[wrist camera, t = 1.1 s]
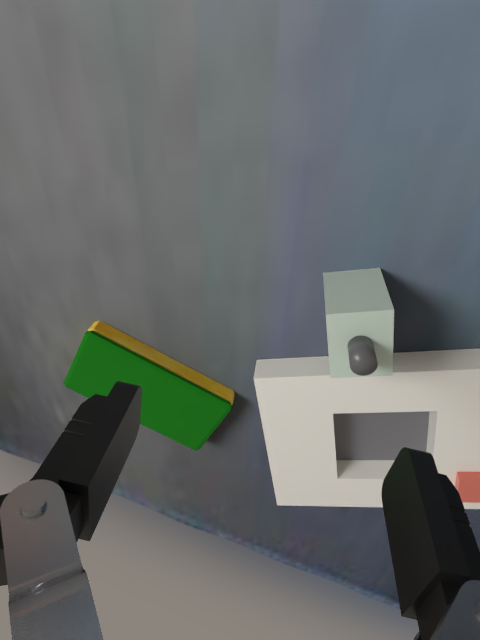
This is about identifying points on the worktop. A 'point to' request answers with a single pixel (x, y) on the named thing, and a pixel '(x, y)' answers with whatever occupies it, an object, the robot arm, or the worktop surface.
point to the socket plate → (368, 425)
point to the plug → (359, 323)
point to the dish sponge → (151, 385)
